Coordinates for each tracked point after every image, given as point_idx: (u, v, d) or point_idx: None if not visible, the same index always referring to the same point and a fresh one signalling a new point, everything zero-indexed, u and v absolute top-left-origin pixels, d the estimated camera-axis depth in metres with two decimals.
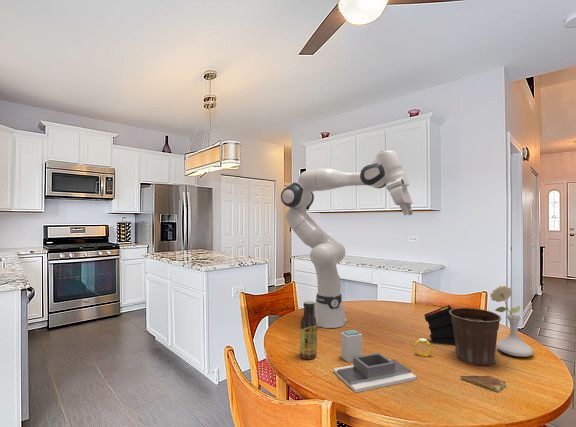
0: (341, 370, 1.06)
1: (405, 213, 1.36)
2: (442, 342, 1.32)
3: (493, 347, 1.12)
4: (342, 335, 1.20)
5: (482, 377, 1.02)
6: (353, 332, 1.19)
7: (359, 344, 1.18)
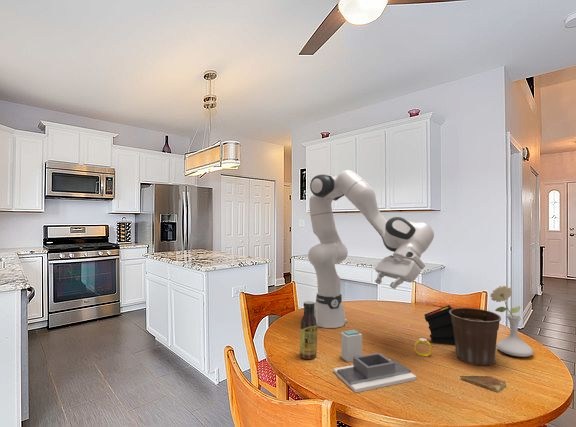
0: (341, 370, 1.06)
1: (394, 286, 1.19)
2: (442, 342, 1.32)
3: (493, 347, 1.12)
4: (342, 335, 1.20)
5: (482, 377, 1.02)
6: (353, 332, 1.19)
7: (359, 344, 1.18)
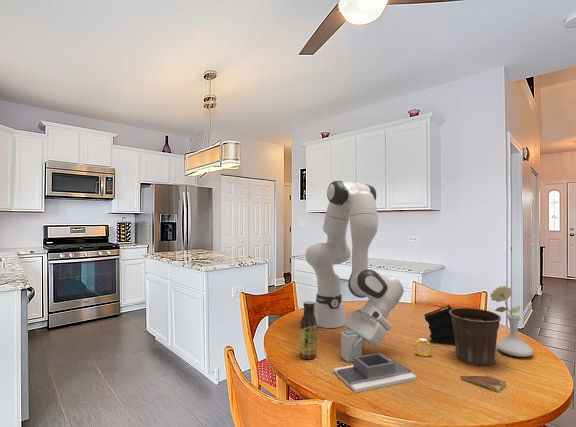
0: (341, 370, 1.06)
1: (356, 347, 1.16)
2: (442, 342, 1.32)
3: (493, 347, 1.12)
4: (342, 335, 1.20)
5: (482, 377, 1.02)
6: (353, 332, 1.19)
7: None
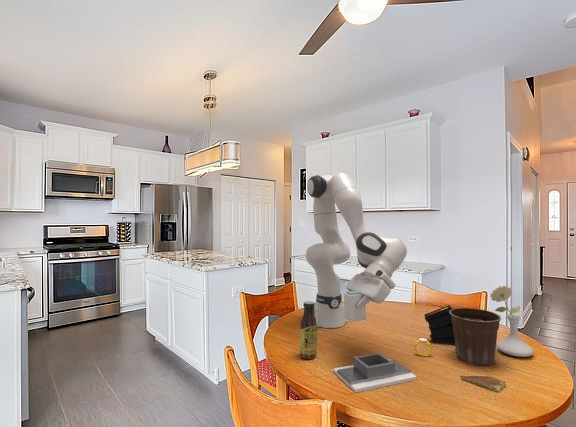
0: (341, 370, 1.06)
1: (359, 306, 1.14)
2: (442, 342, 1.32)
3: (493, 347, 1.12)
4: (345, 295, 1.17)
5: (482, 377, 1.02)
6: (356, 292, 1.17)
7: None
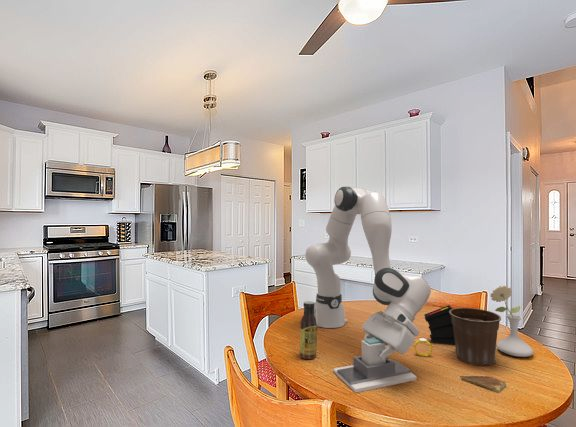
0: (341, 370, 1.06)
1: (382, 357, 1.01)
2: (442, 342, 1.32)
3: (493, 347, 1.12)
4: (363, 344, 1.06)
5: (482, 377, 1.02)
6: (375, 340, 1.06)
7: None
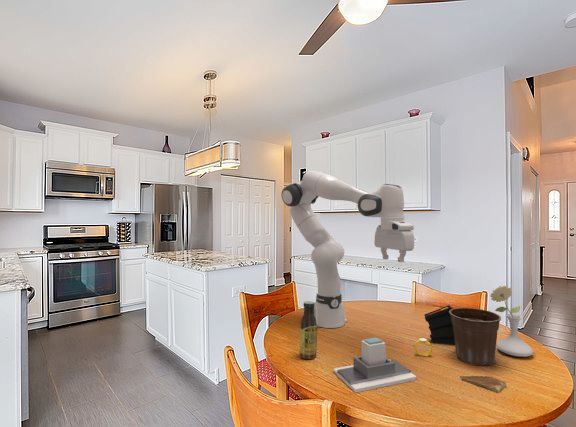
0: (341, 370, 1.06)
1: (401, 260, 1.23)
2: (442, 342, 1.32)
3: (493, 347, 1.12)
4: (363, 344, 1.06)
5: (482, 377, 1.02)
6: (375, 340, 1.06)
7: (382, 354, 1.05)
